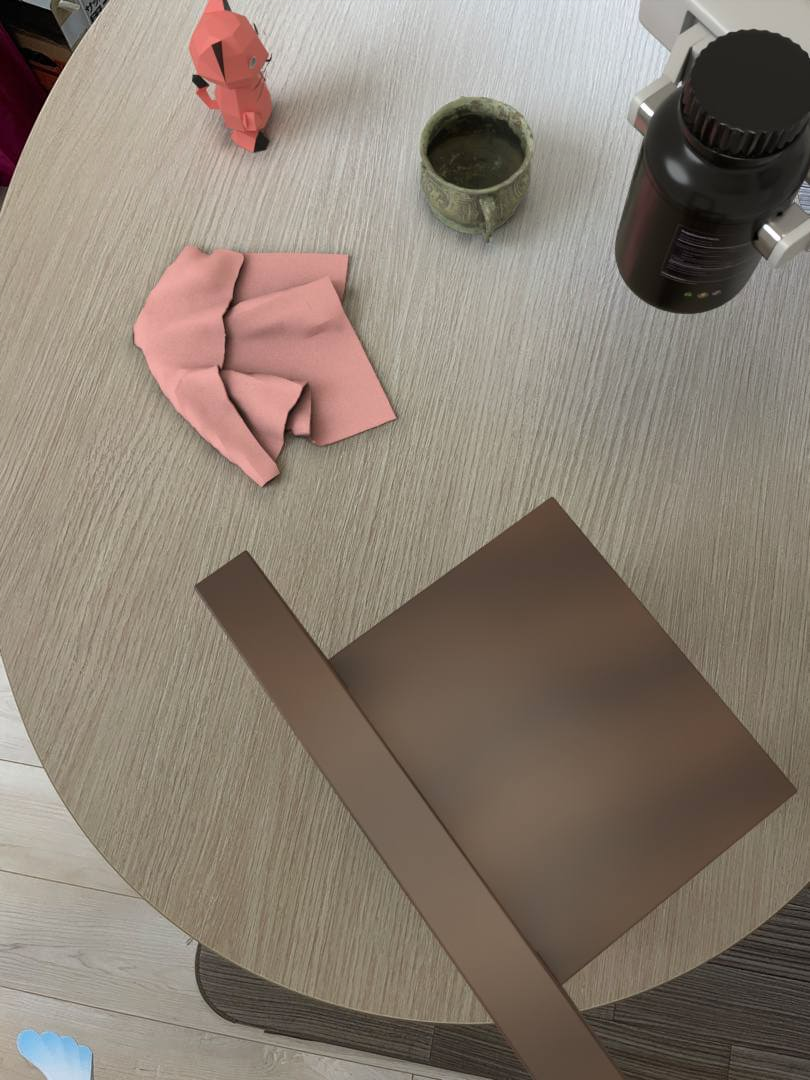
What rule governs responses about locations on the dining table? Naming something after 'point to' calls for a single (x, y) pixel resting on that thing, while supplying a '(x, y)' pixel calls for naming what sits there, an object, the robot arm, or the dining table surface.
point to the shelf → (517, 762)
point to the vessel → (475, 163)
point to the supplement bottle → (716, 172)
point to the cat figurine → (232, 72)
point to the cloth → (259, 353)
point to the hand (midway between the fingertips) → (702, 184)
